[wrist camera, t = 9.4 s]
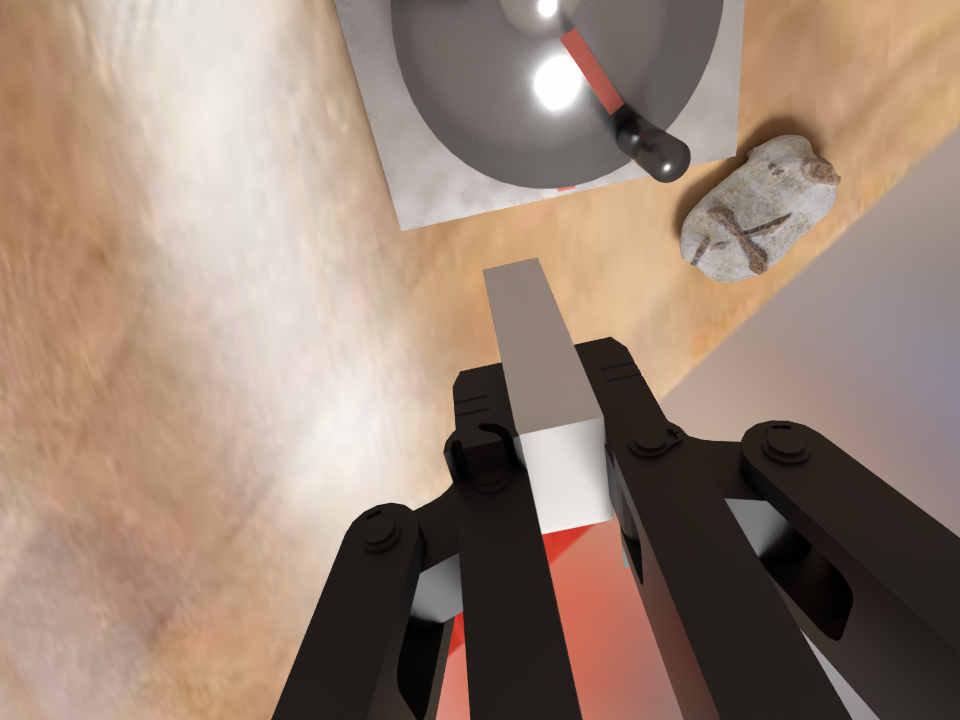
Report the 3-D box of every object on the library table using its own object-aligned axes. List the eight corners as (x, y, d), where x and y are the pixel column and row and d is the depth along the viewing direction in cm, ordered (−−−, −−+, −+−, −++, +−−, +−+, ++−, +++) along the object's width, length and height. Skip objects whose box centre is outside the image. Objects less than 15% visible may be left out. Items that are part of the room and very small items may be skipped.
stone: (723, 291, 40) (740, 309, 38) (655, 234, 37) (669, 249, 35) (838, 182, 36) (865, 195, 34) (772, 109, 33) (797, 117, 31)
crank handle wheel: (362, 120, 29) (343, 158, 23) (449, -266, 22) (458, -378, 15) (612, 207, 33) (658, 261, 26) (759, -98, 26) (876, -130, 19)
